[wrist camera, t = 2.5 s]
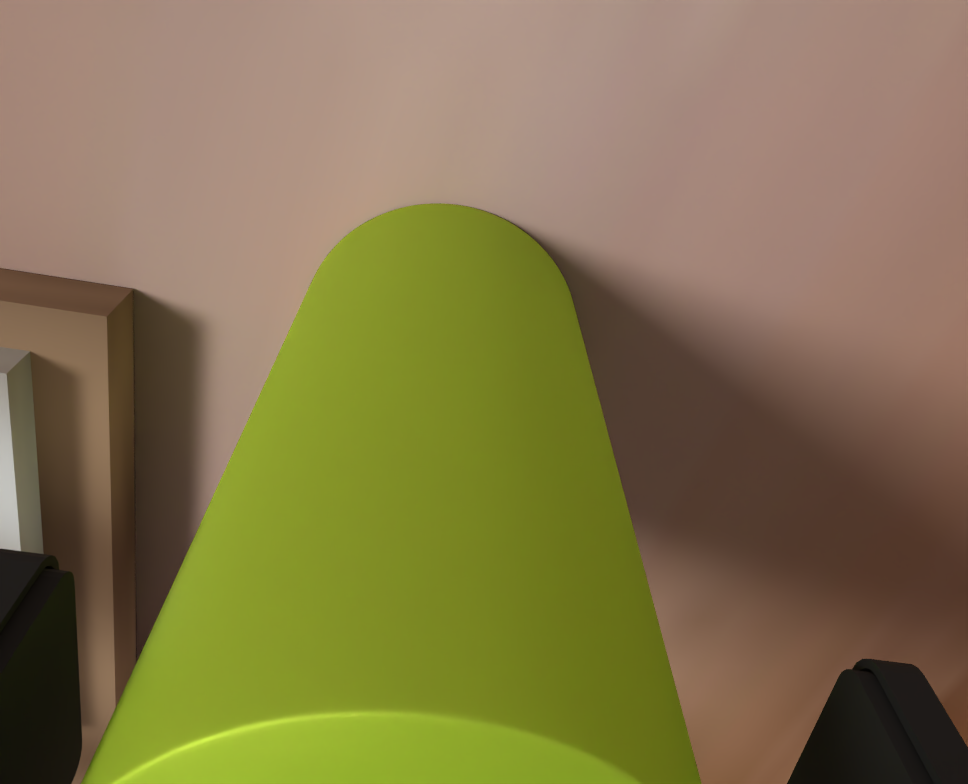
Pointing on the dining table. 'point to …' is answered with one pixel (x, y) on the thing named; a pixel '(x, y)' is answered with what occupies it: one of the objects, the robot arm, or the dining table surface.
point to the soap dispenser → (413, 548)
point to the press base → (74, 464)
